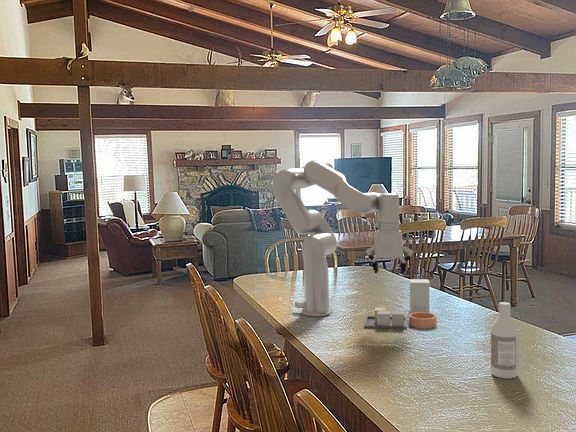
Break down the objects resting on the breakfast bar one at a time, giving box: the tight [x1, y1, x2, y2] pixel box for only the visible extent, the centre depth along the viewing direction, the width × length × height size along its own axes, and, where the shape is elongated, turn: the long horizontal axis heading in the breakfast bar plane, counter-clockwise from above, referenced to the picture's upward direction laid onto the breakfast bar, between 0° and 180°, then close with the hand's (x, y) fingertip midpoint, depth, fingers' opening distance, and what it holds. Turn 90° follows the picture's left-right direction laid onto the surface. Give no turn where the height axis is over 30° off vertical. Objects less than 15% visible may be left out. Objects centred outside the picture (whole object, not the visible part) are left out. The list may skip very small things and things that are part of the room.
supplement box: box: [409, 278, 430, 314], centre depth 219 cm, size 7×7×13 cm
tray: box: [363, 315, 408, 330], centre depth 204 cm, size 15×13×1 cm
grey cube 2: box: [391, 311, 405, 326], centre depth 199 cm, size 4×4×5 cm
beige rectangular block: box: [374, 306, 387, 324], centre depth 206 cm, size 4×4×5 cm
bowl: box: [408, 312, 438, 329], centre depth 202 cm, size 10×10×4 cm
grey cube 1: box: [377, 310, 391, 326], centre depth 201 cm, size 4×4×5 cm
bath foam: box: [490, 301, 519, 380], centre depth 152 cm, size 7×7×20 cm
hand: (389, 272), depth 206 cm, fingers open, 9 cm apart
